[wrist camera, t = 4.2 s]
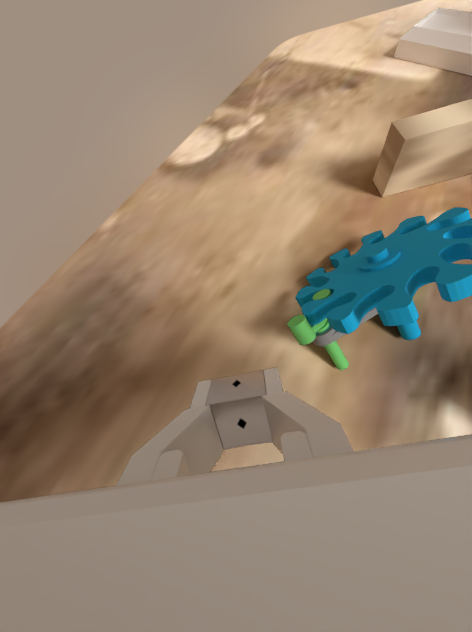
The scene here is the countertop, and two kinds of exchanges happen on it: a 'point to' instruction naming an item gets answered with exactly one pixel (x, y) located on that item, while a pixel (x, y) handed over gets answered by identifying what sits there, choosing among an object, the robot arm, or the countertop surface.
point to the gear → (385, 280)
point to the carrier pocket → (426, 149)
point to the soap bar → (440, 41)
